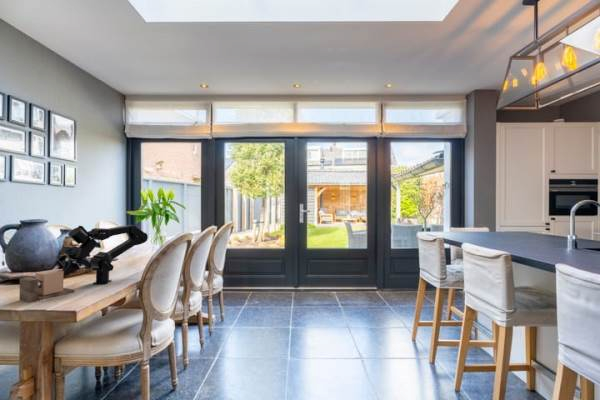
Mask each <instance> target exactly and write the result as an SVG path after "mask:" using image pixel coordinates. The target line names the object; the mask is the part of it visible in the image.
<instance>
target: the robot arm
mask: <svg viewBox="0 0 600 400" xmlns="http://www.w3.org/2000/svg"><path fill="white" fill-rule="evenodd" d="M124 234H127V235H128V236H129V237H128V238H127V240H125V241H123V242H122V243H120V244H119V245H117V246H115V247H113V248H111V249H110V250H109V251H107V252H106V251H98V252H97V253H96V254H94V255H92V257H91V253H92V252H93V251H94V250H95V248H96V249H97V248H98V249H101V242H99V241H105V240H107V239H109V238H111V237H113V236H118V235H124ZM67 235H68V237H69V238H70V239H71V238H72V241H73V242H76V243H77V244H78V245H79V247H77V246H72V247H68V246H65V245H62V247H61V249H60V251H59V253H61V254H58V255H57V256H56V257H55V260H56V261H58V262H59V263H60V264H61V265H62V269H61V270H62V271H64V275H63V278H65V277H66V276H69V275H70V274H73V273H76V272H75V271H77V272H78V271H79V270H81V267H82V266H84V269H85V270H90V269H92V271H95V281H94V282H93V283H92V284H93V285H106V284H109V283H110V282H112V279H110V272H111V271H113V270H114V265H113V264H112V262H113V260H114V259H116V258H117V257H119V256H120V255H123V254H124V253H125V252H127V251H128V250H130V249H132V247H135V246H138V245H142V244H144V243H146V242H147V241H148V234H147V232H144V231H143V230H141V229H140V228H138V227H137V226H135V225H134V224H126V225H122V226H121V225H120V226H115V227H110V228H109V227H108V228H106V227H105V228H104V227H103V228H101V227H100V228H98V227H97V228H95V227H94V228H92V229H91V230H88V231H87V229H86V228H85V227H84V226H83V225H78V226H77V227H75V228H73V229H71V230H70V231H69V232H68V233H67ZM63 253H65V254H68V255H67V256H68V257H70V258H68V257H67V256H66V255H63ZM90 257H91V258H90ZM87 258H90V260H89V259H87Z"/></svg>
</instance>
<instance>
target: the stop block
mask: <svg viewBox="0 0 600 400" xmlns="http://www.w3.org/2000/svg"><path fill="white" fill-rule="evenodd" d="M72 293H75V289H71V288H66V287H63V291H60V292H56V293H52V294H48V295H39V294H38V279H35V278H34V277H29V276H27V277H21V278H19V301H22V302H27V303H32V302H37V301H39V302H40V300H41V301H44V299H45V300H49V299H53V298H57V297H60V296H64V295H69V294H72ZM52 297H53V298H52ZM48 298H49V299H48Z"/></svg>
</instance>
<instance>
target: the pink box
mask: <svg viewBox="0 0 600 400" xmlns="http://www.w3.org/2000/svg"><path fill="white" fill-rule="evenodd" d="M63 275H64V271H62V269H61V270H60V269H50V270H43V271H38V272H37V271H36V272H35V275H34V277H35V279H38V282H40V281H42V286H39V287H38V294H39V295H48V294H52V293H56V292H60V291H63V288H64V277H63Z"/></svg>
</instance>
